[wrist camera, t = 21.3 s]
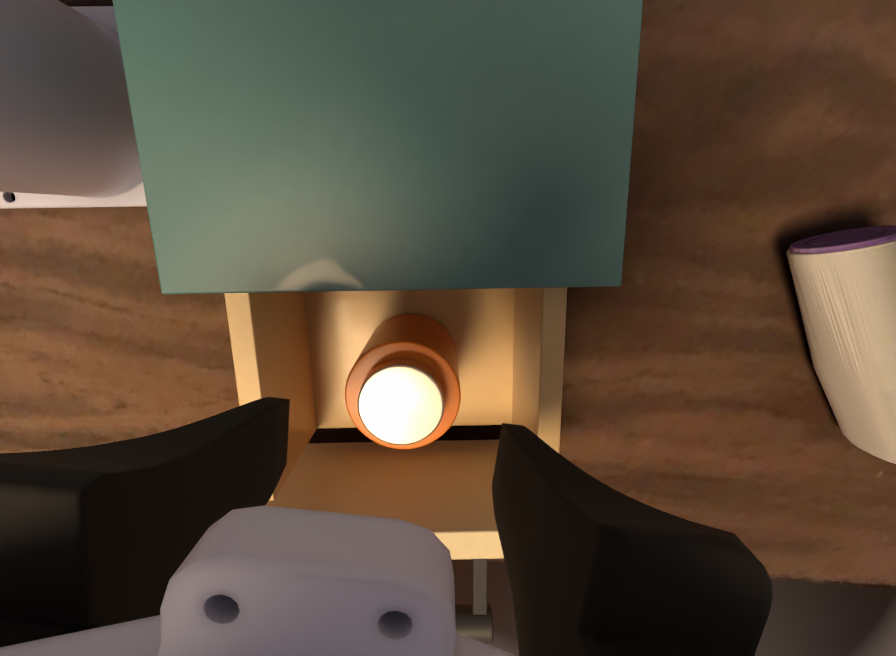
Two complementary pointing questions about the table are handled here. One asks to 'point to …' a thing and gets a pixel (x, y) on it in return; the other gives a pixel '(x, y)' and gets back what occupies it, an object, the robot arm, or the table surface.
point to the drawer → (419, 469)
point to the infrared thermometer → (852, 328)
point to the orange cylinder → (405, 383)
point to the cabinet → (383, 141)
